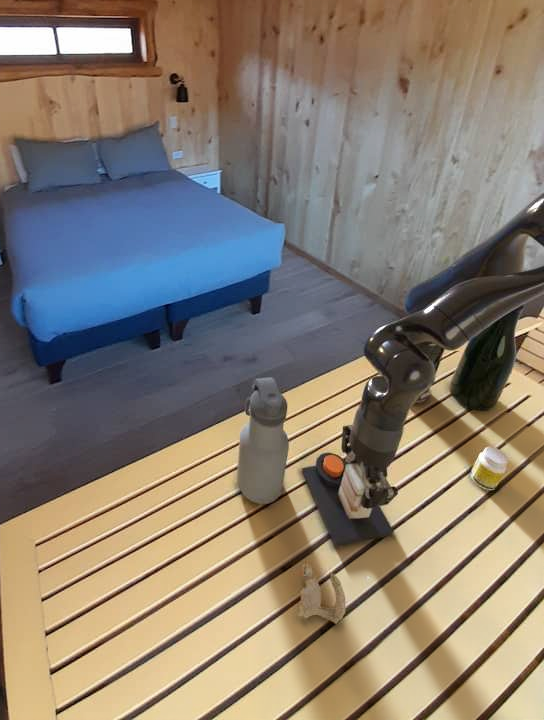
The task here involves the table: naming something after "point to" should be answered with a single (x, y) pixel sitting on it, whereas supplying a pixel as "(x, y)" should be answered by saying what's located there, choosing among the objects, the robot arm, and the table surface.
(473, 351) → the dark green wine bottle
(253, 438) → the water bottle
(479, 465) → the supplement bottle
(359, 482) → the white medicine box
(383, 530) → the black button panel
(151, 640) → the table surface
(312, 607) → the beige figurine
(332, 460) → the button
